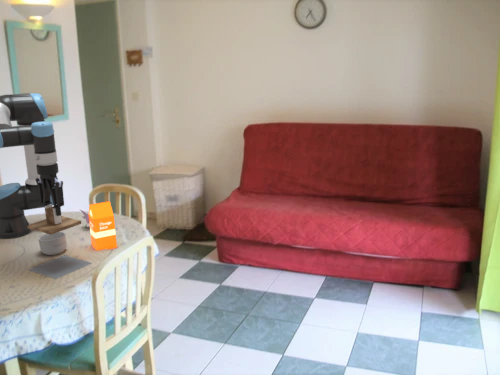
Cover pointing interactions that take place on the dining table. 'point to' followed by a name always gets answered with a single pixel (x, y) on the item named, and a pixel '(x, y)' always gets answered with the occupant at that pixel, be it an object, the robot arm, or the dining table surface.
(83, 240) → the dining table surface
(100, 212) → the orange juice
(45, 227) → the lid
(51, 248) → the teacup
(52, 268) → the mat
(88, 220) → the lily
